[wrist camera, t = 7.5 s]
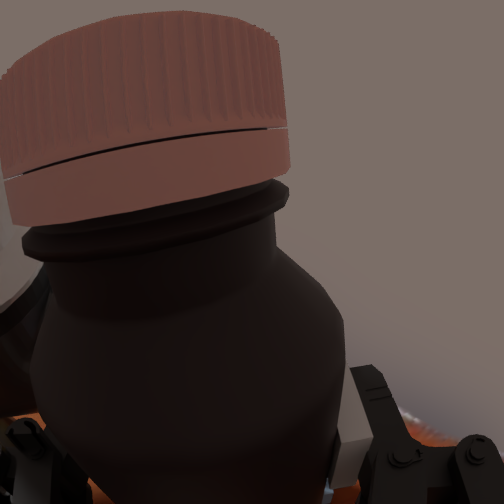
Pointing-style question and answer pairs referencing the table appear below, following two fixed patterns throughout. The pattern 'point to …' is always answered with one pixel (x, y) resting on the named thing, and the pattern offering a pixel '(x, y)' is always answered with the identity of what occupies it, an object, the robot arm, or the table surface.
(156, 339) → the vinegar
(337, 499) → the table surface
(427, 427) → the table surface
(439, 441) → the table surface
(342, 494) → the table surface
